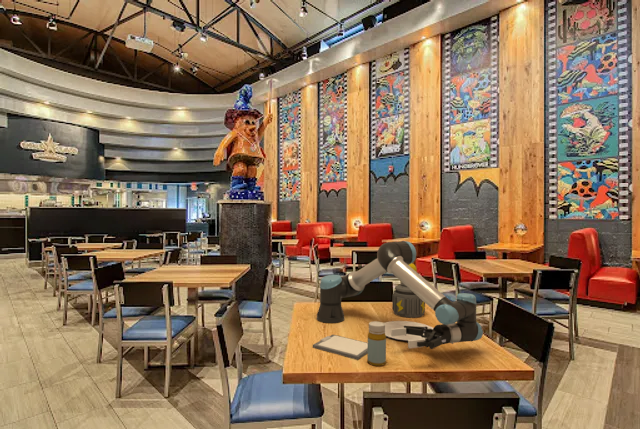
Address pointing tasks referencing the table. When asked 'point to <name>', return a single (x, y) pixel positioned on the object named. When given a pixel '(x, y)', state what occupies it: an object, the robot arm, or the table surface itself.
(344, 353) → the clipboard
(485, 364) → the table surface
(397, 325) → the plate
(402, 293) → the decorative lamp
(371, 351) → the bottle
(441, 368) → the table surface
